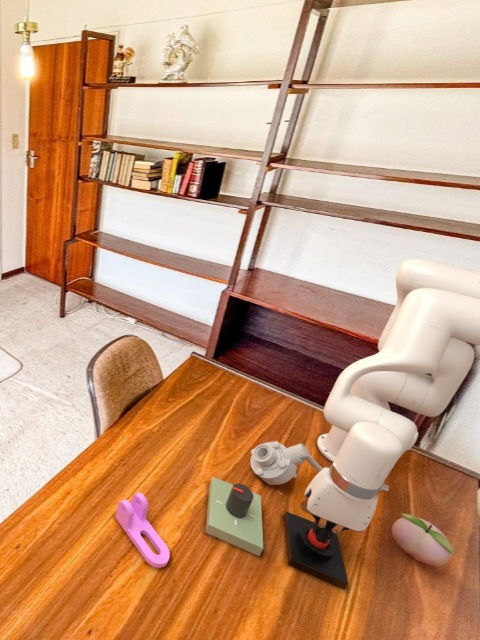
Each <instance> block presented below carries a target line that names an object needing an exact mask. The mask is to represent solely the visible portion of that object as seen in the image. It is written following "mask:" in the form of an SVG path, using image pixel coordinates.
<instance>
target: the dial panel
mask: <svg viewBox="0 0 480 640" xmlns="http://www.w3.org/2000/svg"><path fill="white" fill-rule="evenodd" d="M233 485H234V484H232V483H230V482H227V481H225V480H222V479H219V478H218V477H214V476H212V477H211V480H210V482H209V488H208V498H207V500H208V501H207V512H206V524H205V534H208V535H210V536H212V537H215V538H217V539H219V540H221V541H223V542H226V543H228V544H229V545H232V546H234V547H236V548H239V549H242V550H244V551H246V552H248V553H250V554H253V555H255V556H257V557H260V556H261V554H262V552H263V550H264V534H263V512H262V511H263V509H262V496H261V494H258V493H256V492H253V491H252V493H253V496H254V497H253V500H252V503H251V505H250V507H249V509H248V512H247V514H246V516H245V517H244V518H237V517H234V516H233V515H231V514H230V513H229V512H228V510H227V509H226V502H227V500H228V497H229V494H230V492H231V489H232V487H233Z"/></svg>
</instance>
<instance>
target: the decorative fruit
mask: <svg viewBox="0 0 480 640" xmlns="http://www.w3.org/2000/svg"><path fill="white" fill-rule="evenodd" d="M399 516H401V517H400V518H398V519H396V520H395V522H394V523H392V526H391V534H392V537H393V539H394V541H395V542H396V544H397V545H398V546H399V548H400V549H401V550H402V551H403V552H404V553H406V554H407V555H409V556H411V558H412V559H414V560H416V561H417V562H420V563H423V564H426V565H429V566H436V567H437V566H444V565H445V564H447V563H448V561H449V559H450V558H451V555H453V556H455V555H456V554H455V551H454V548H453V546H452V544H451V543H450V541H449V539H448V537H446V535H445V534H444V533H443V532H442V530H440V529H439V528H438V527H437V526H435V525H434V524H433V523H431V522H429V521H427V520H425V519H423V518H421V517H417V516H415V515H413V514H409V513H402V512H401V513H399Z"/></svg>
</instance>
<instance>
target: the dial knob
mask: <svg viewBox="0 0 480 640" xmlns="http://www.w3.org/2000/svg"><path fill="white" fill-rule="evenodd" d="M252 492H253V491H252V490H251V489H250V488H249V487H248V486H247V485H245V484H241V483H235V484H233V487H232V489H231V492H230V494H229V497H228V500H227V502H226V509H227V510H228V512H229V513H230V514H231V515H233V516H234V517H237V518H244V517H245V516H246V514H247V512H248V509H249V507H250V505H251V503H252V500H253V497H254V496H253V493H254V492H253V493H252Z"/></svg>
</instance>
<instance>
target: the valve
mask: <svg viewBox="0 0 480 640" xmlns="http://www.w3.org/2000/svg"><path fill="white" fill-rule="evenodd" d="M250 453H251V456H250V463H249V464H250V467H251V470H252V471H253V472H254V474H255V475H256V476H257V477H259V479H261V480H262V481H263V482H265V483H266V484H268V485H270V486H272V485H273V486H277V485H278V486H279V485H283V484H285V483H287V482H289V481H290V480H291V479H296V478H297V476H298V473H297V470H298V465H302V464H304V463H305V461H307V462H308V464H309V465H310V466H312V468H313V469H315V470H316V471H317V473H319V472H320V471H321V470H322V469H323V468H324V467H322V466H321V465H320V464H319V463H318V462H317V461H316V460H315V459H314V458H313V457H312V455H311V452H310V450H309V449H308V448H307V447H306V445H305V444H304V443H298V444H295V445H292V446H288V447H286V446H285V445H284V444H282V443H280V442H278V440H274V441H267V442H264V443H261V444H258V445H257V446H255V447H254V448H252V449H251V451H250Z"/></svg>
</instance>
